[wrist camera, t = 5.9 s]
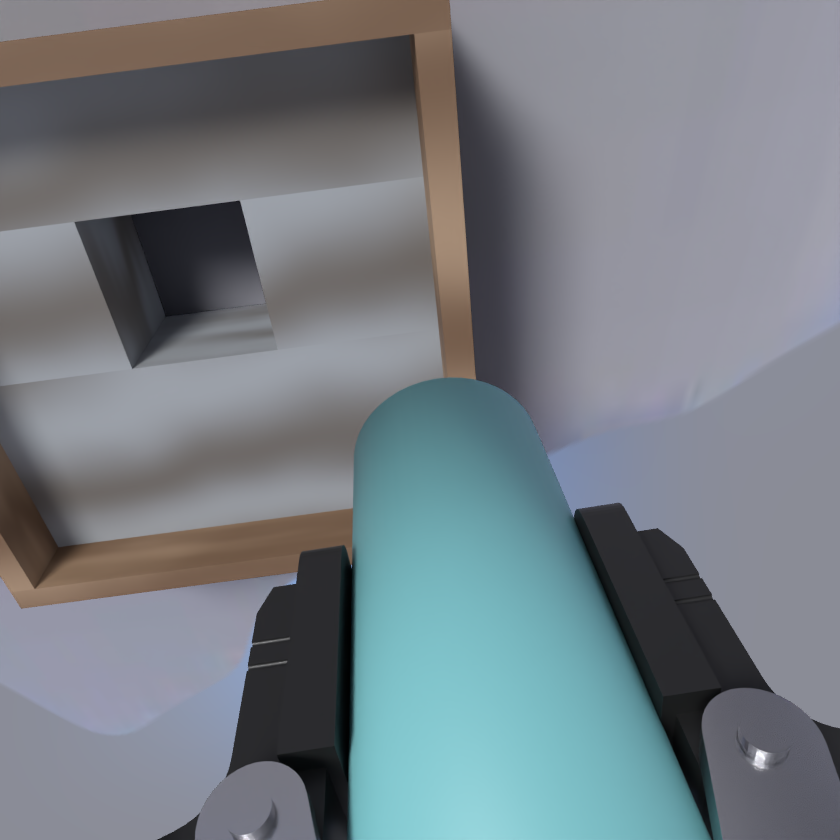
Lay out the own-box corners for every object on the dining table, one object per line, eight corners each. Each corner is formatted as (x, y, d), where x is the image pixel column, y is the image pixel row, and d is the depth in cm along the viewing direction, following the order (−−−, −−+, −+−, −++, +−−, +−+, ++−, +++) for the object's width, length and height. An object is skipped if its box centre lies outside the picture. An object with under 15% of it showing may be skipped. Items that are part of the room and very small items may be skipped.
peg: (336, 394, 13) (270, 1374, 4) (534, 363, 13) (993, 1268, 4) (371, 542, 15) (388, 1398, 6) (541, 515, 15) (839, 1332, 6)
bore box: (-132, 63, 23) (-319, 82, 17) (425, -8, 23) (448, -16, 17) (85, 496, 34) (21, 608, 27) (464, 446, 34) (487, 546, 28)
